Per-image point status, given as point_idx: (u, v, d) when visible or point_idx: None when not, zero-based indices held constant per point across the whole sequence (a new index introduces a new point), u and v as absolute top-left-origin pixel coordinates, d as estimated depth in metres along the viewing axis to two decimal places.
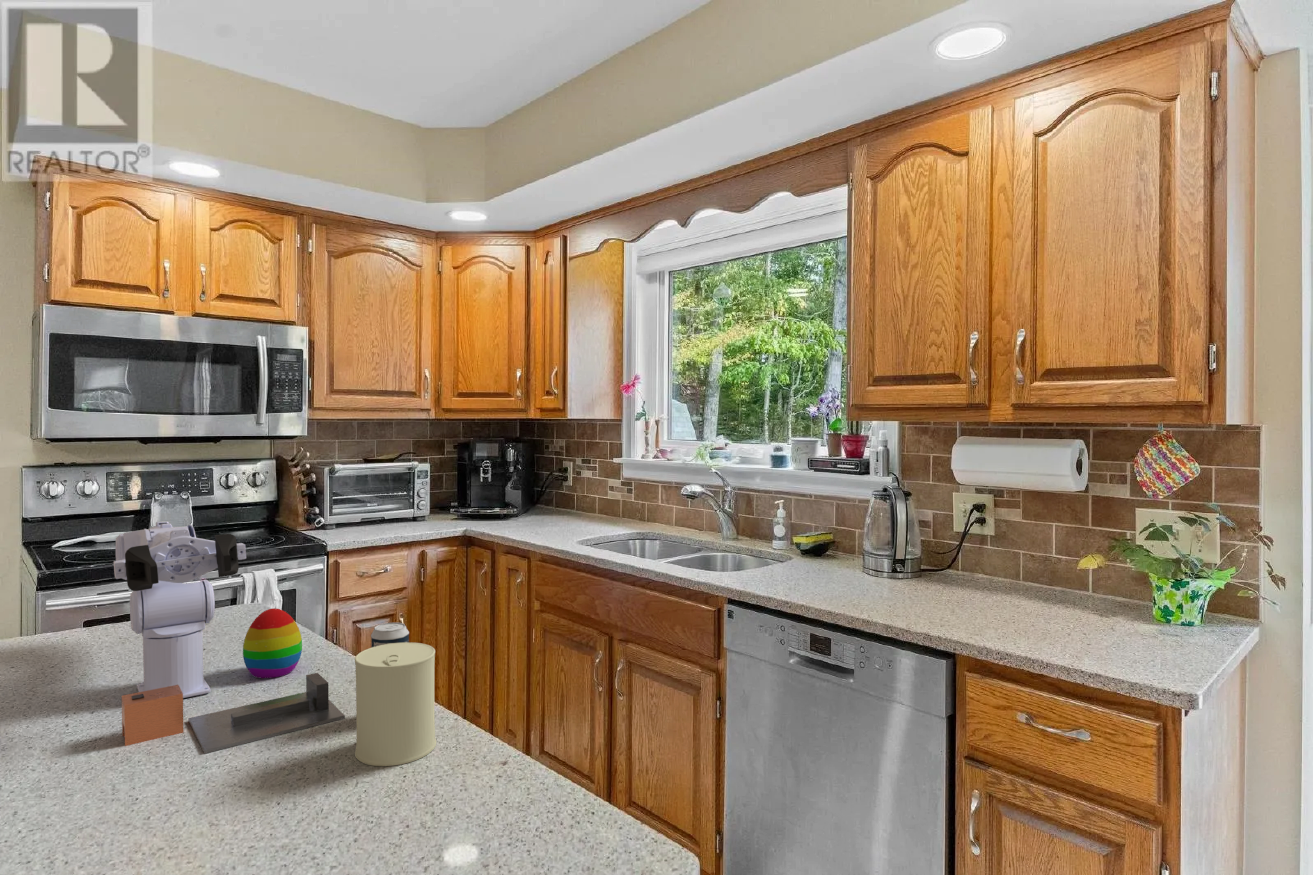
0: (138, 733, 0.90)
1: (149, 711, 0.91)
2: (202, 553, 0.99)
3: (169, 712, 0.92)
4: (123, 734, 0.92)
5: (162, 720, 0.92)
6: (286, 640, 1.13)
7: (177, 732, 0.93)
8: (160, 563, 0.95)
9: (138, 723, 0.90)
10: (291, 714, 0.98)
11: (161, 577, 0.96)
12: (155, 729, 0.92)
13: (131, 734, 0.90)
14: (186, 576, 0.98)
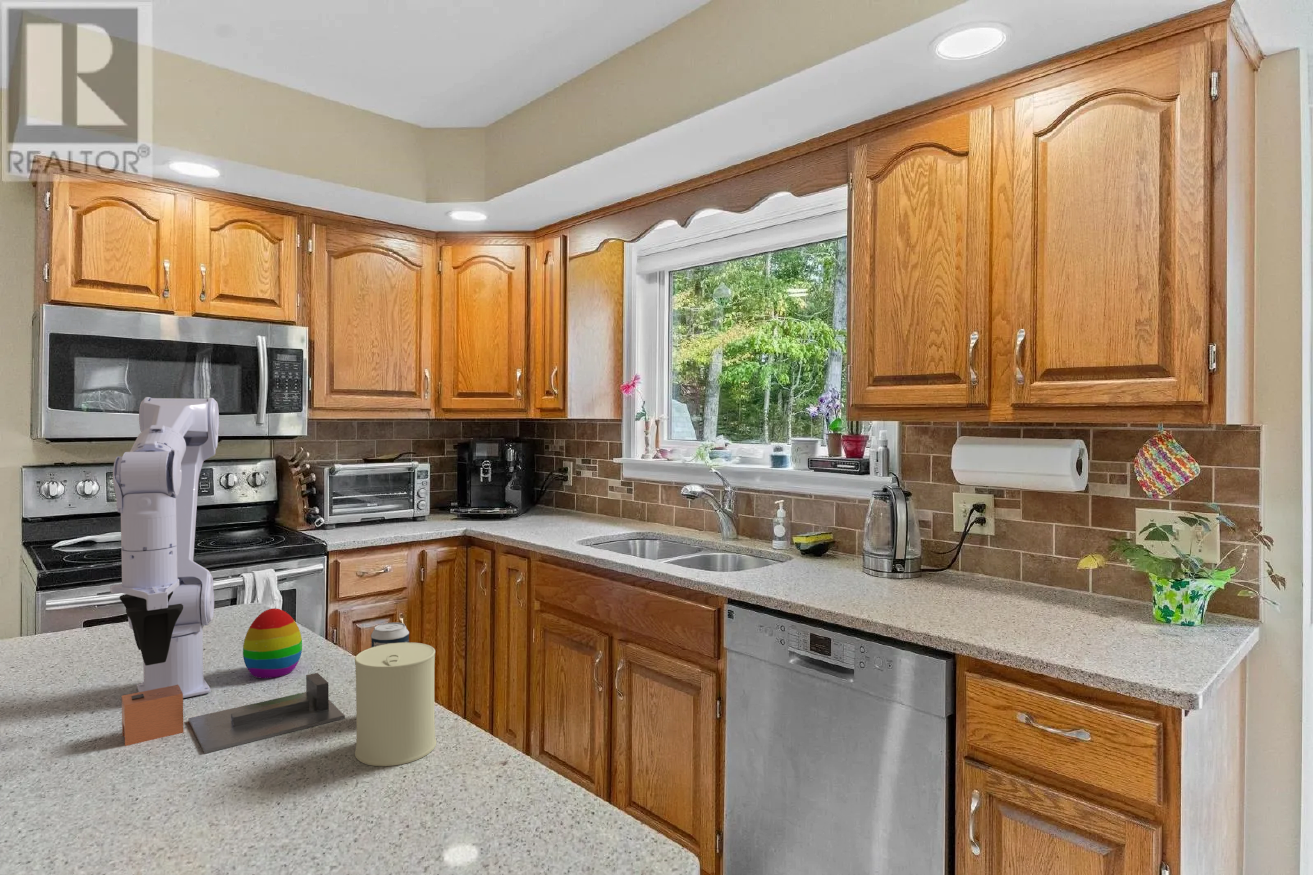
0: (138, 733, 0.90)
1: (149, 711, 0.91)
2: None
3: (169, 712, 0.92)
4: (123, 734, 0.92)
5: (162, 720, 0.92)
6: (286, 640, 1.13)
7: (177, 732, 0.93)
8: None
9: (138, 723, 0.90)
10: (291, 714, 0.98)
11: None
12: (155, 729, 0.92)
13: (131, 734, 0.90)
14: None
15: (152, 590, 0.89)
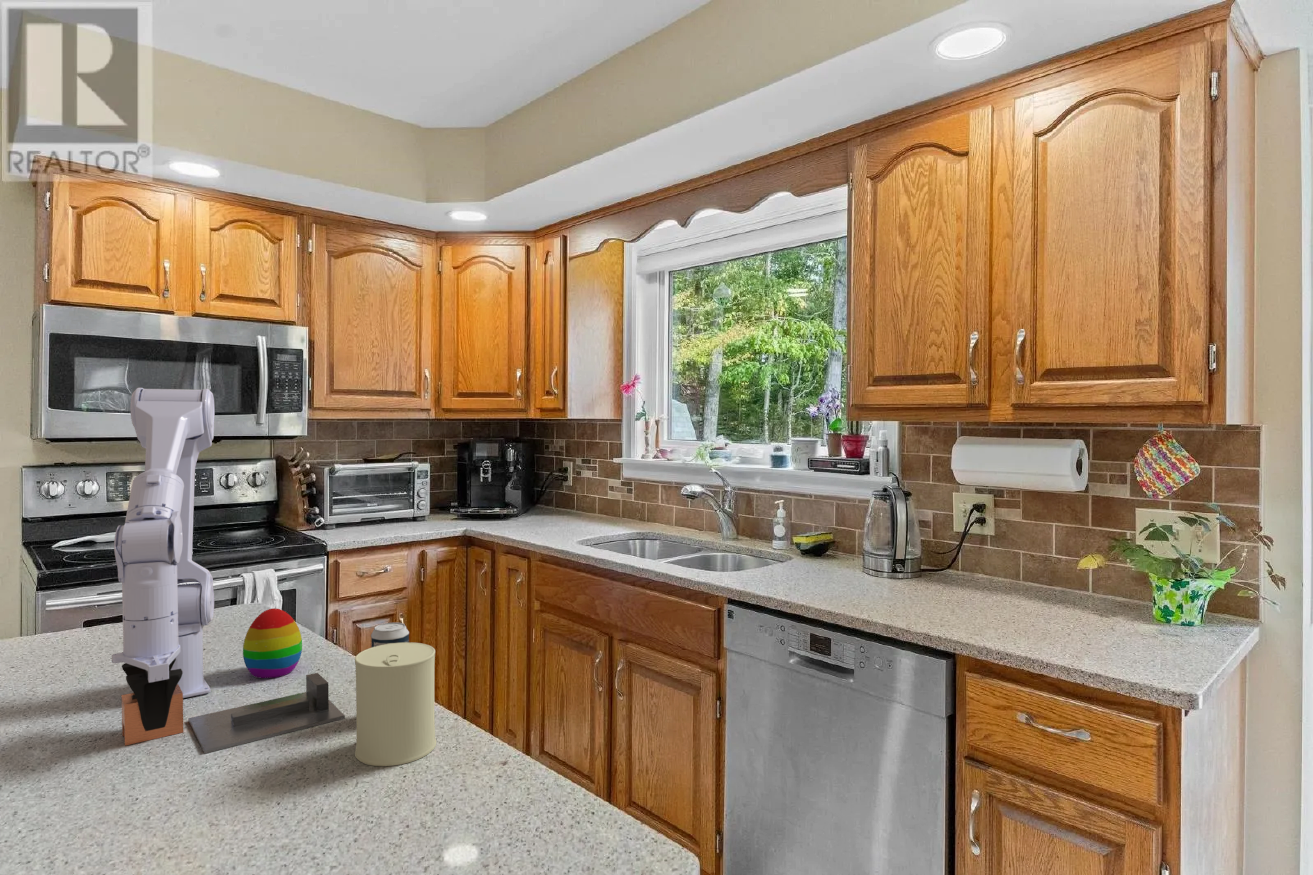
0: (138, 733, 0.90)
1: None
2: None
3: (169, 712, 0.92)
4: (123, 734, 0.92)
5: None
6: (286, 640, 1.13)
7: (177, 732, 0.93)
8: None
9: (138, 722, 0.90)
10: (291, 714, 0.98)
11: None
12: (155, 729, 0.91)
13: (131, 734, 0.90)
14: None
15: (153, 660, 0.89)
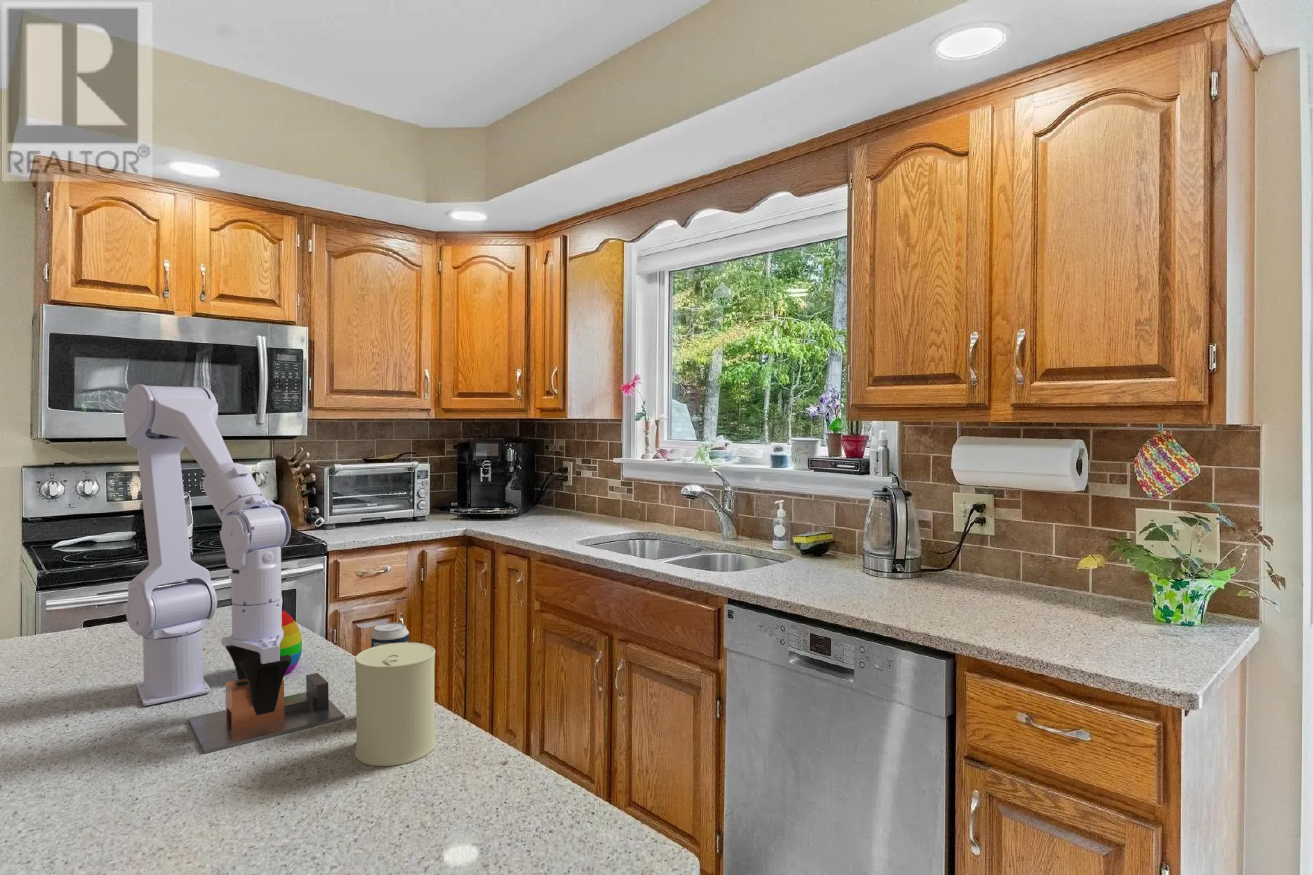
0: (244, 718, 0.94)
1: None
2: None
3: None
4: (227, 719, 0.96)
5: None
6: (286, 640, 1.13)
7: (279, 718, 0.96)
8: None
9: (244, 708, 0.94)
10: (291, 714, 0.98)
11: None
12: (259, 715, 0.95)
13: (238, 719, 0.93)
14: None
15: (263, 643, 0.92)
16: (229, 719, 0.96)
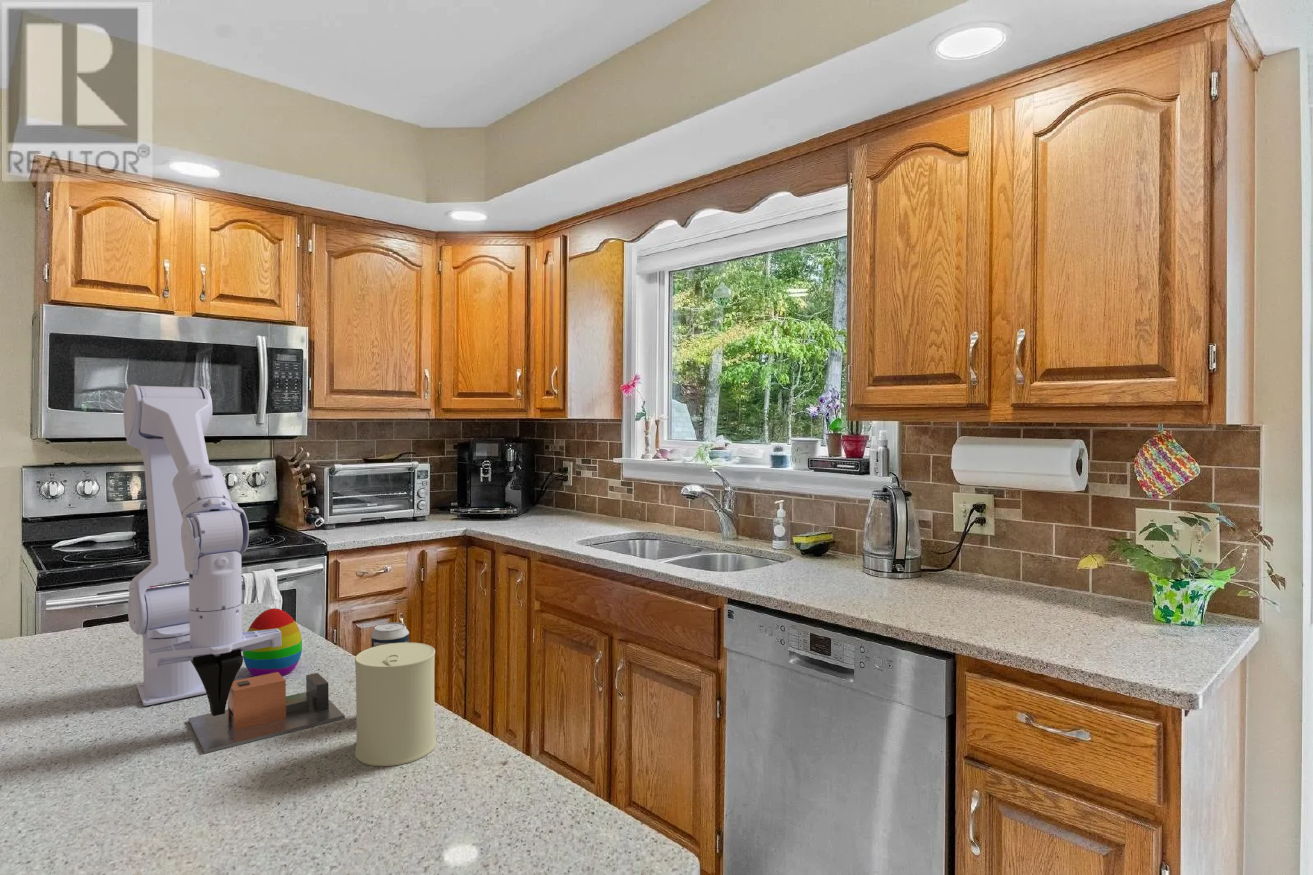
0: (246, 718, 0.94)
1: (256, 696, 0.95)
2: None
3: (273, 698, 0.96)
4: (229, 719, 0.96)
5: (267, 706, 0.95)
6: (286, 640, 1.13)
7: (280, 717, 0.96)
8: None
9: (245, 708, 0.94)
10: (291, 714, 0.98)
11: None
12: (261, 714, 0.95)
13: (239, 719, 0.93)
14: None
15: (258, 634, 0.96)
16: None
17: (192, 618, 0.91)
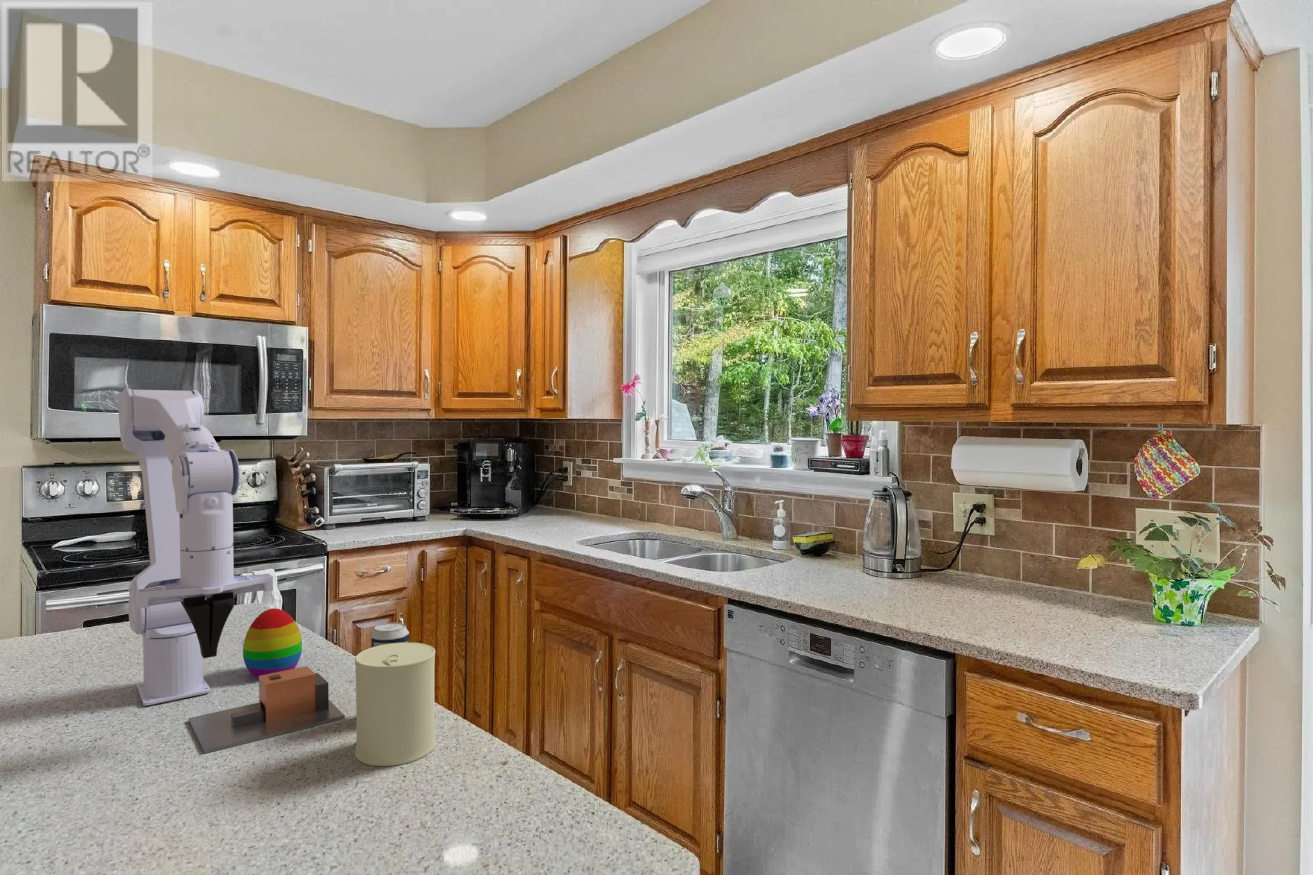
0: (277, 711, 0.96)
1: (287, 690, 0.97)
2: (229, 590, 0.94)
3: (304, 691, 0.98)
4: None
5: (298, 699, 0.98)
6: (286, 640, 1.13)
7: (310, 710, 0.99)
8: None
9: (277, 701, 0.96)
10: None
11: None
12: (292, 707, 0.97)
13: (271, 711, 0.96)
14: None
15: (250, 578, 0.95)
16: None
17: (183, 558, 0.90)
